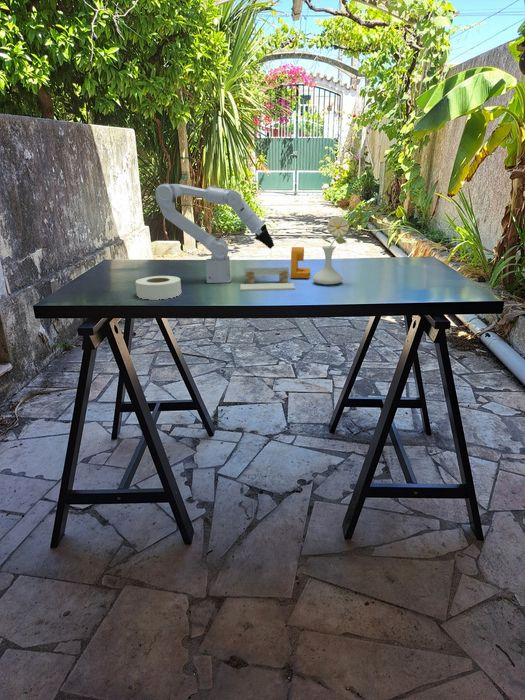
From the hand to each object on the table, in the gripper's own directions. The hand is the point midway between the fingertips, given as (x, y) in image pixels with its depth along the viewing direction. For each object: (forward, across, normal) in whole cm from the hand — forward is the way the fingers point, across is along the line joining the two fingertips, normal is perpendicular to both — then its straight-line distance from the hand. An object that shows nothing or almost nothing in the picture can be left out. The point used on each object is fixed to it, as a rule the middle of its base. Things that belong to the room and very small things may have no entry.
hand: (271, 245), depth 187 cm
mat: (+8, -15, +10) cm, 20 cm away
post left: (+5, -6, +15) cm, 17 cm away
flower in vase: (+24, -10, -8) cm, 27 cm away
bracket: (+18, +3, 0) cm, 18 cm away
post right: (+13, -6, +5) cm, 15 cm away
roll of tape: (-16, -21, +40) cm, 48 cm away
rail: (+6, -6, +8) cm, 12 cm away
